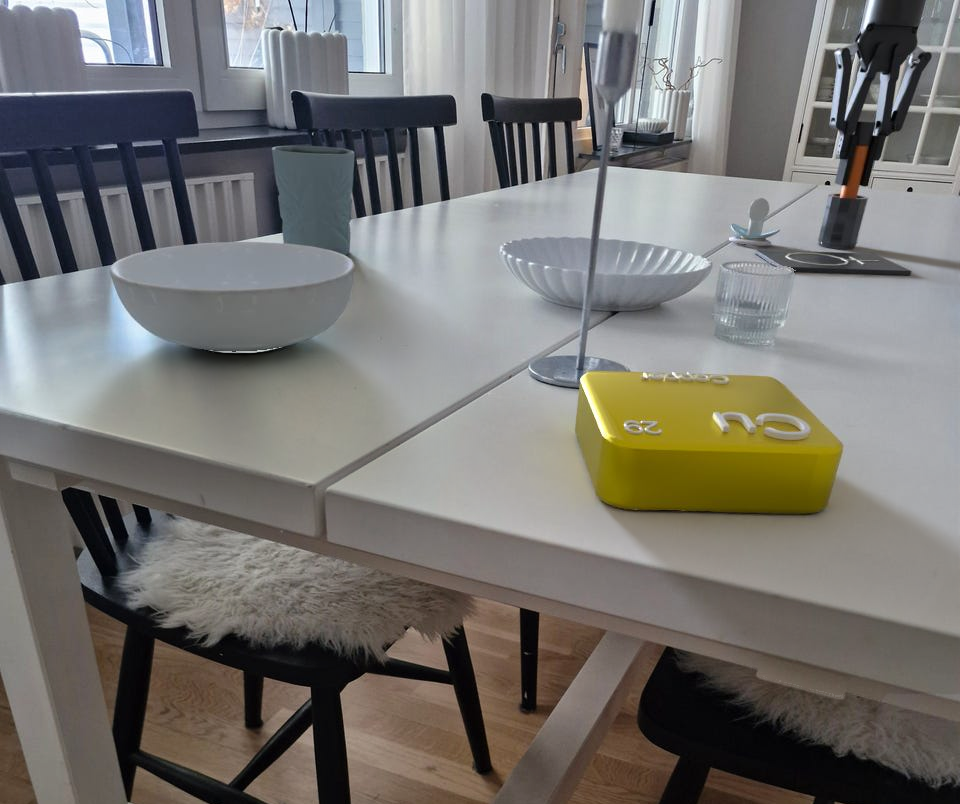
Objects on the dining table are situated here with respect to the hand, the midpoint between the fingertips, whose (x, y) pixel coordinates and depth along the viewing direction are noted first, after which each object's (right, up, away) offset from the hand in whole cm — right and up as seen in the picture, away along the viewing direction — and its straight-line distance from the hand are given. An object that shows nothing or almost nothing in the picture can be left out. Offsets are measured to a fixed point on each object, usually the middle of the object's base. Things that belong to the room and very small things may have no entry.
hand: (851, 184), depth 134 cm
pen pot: (0, -7, +5) cm, 9 cm away
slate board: (-6, -15, -8) cm, 19 cm away
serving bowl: (-78, -41, -51) cm, 102 cm away
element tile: (-41, -57, -72) cm, 101 cm away
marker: (0, -4, +3) cm, 5 cm away
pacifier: (-14, -8, +3) cm, 17 cm away
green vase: (-77, -17, -16) cm, 81 cm away
